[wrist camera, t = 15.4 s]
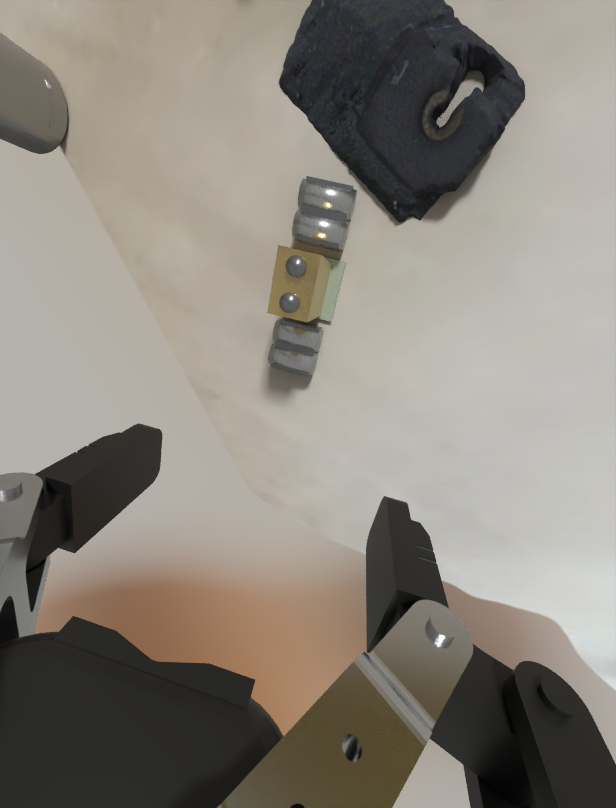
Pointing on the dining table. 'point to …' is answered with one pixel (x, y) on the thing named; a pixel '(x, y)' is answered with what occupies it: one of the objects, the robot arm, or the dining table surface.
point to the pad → (332, 289)
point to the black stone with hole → (399, 94)
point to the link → (299, 284)
